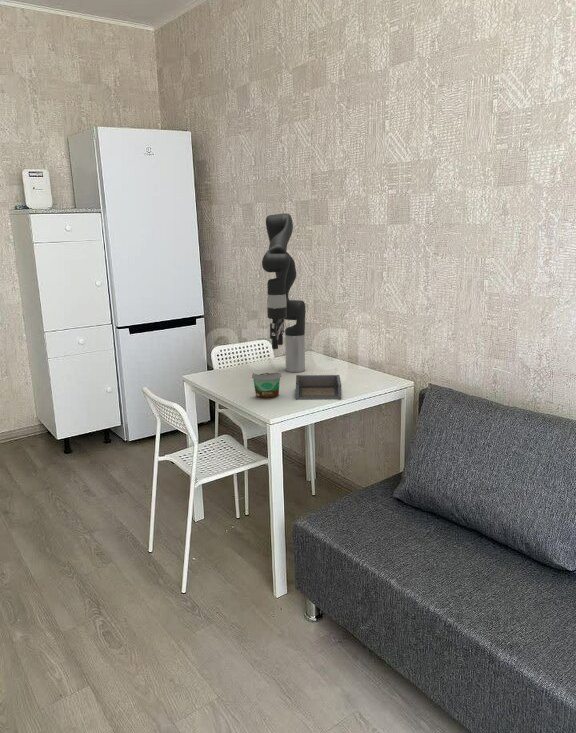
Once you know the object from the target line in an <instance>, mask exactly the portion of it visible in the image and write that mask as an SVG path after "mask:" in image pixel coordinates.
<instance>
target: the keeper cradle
mask: <svg viewBox="0 0 576 733" xmlns="http://www.w3.org/2000/svg"><path fill="white" fill-rule="evenodd" d="M295 377H296V378H295V401H296V400H342V381H341V377H340V374H315V375H313V374H311V375H310V374H309V375H308V374H307V375H306V374H302V375H300V374H299V375H298V374H297V375H296V376H295Z"/></svg>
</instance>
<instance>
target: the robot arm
mask: <svg viewBox="0 0 576 733" xmlns="http://www.w3.org/2000/svg"><path fill="white" fill-rule="evenodd" d="M292 218H293V217H292V215H291V214H290V213H285V212H284V213H276V214H269V215H267V216H266V218H265V227H266V233H267V236H268V240H269V244H268V245H269V246H268V250H267V251H266V252H265V253H264V255H263V257H262V260H261V266H262V267H261V268H262V269H263V271H264V272H266V273H275V277H273V278H269V279H267V283H266V284H267V296H266V297H267V299H266V306H267V307H266V311H267V317H266V318H267V319H271V320H272V321H271V323H270V324H269V339H270V340H271V348H272V349H271V350H278V349H279V346H283V344H284V345H285V346H284V347H285V350H284V352H285V356H284V357H285V371H286V372H289V373H301V372H304V371H305V370H306V342H305V341H306V339H305V338H306V336H305V333H306V332H305V331H306V308H307V307H306V304H305V303H306V302H305V301H304V300H301V299H300V300H299V299H296V300H295V299H289V293H290V290H291V288H292V286H293V285H294V283H295V281H296V278H297V269H296V263H295V260H294V258H293V257H292V256H291V255H290V253H288V252H287V251H288V250H287V249H288V244H289V242H290V238H292V234H293V232H294V231H293V230H294V224H293V223H294V222H293V219H292ZM285 320H286V321H296V322H295V324H293V325H291V326H288V327H286V328H285ZM284 342H285V343H284Z"/></svg>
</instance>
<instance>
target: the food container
mask: <svg viewBox="0 0 576 733" xmlns="http://www.w3.org/2000/svg"><path fill="white" fill-rule="evenodd" d="M282 376H283V375H282V372H281V370H279V372H264V373H259V374H257V373H254V372H252V374H251V379H252V380H253V386H254V393H255V397H256V398H258V399H264V400H265V399H266V400H271V399H274V398H277V397H279V392H280V380H281V378H282Z"/></svg>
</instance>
